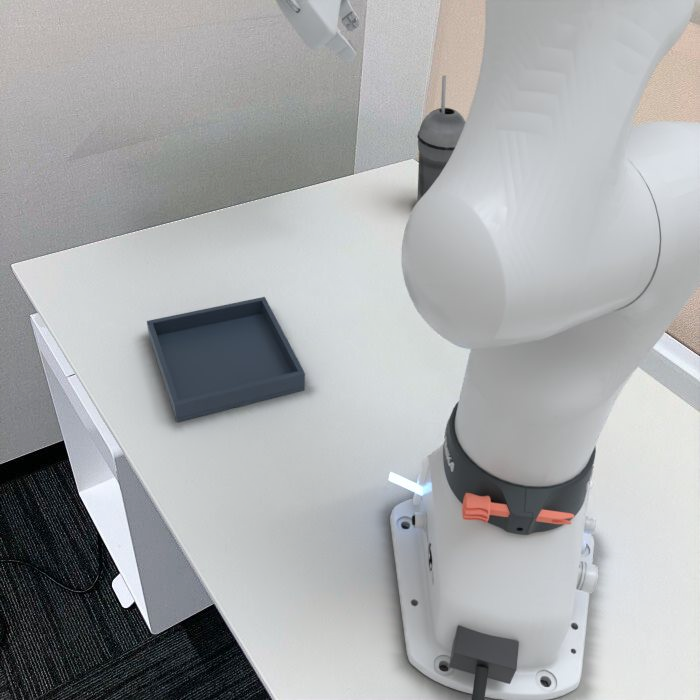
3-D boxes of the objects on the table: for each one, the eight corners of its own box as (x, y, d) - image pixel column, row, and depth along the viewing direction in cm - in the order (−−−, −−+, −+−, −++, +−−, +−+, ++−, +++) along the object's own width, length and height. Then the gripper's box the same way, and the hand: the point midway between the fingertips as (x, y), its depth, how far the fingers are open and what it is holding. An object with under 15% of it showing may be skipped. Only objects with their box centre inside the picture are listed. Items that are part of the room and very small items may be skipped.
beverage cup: (439, 227, 108) (461, 94, 95) (398, 209, 111) (414, 78, 98) (465, 207, 113) (489, 78, 99) (425, 191, 116) (443, 63, 102)
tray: (304, 390, 82) (305, 373, 80) (176, 422, 77) (174, 405, 75) (265, 313, 91) (264, 296, 89) (149, 337, 87) (146, 320, 85)
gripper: (293, -39, 78) (371, 63, 85) (309, -96, 92) (375, -4, 100) (249, -2, 81) (329, 94, 88) (272, -63, 95) (338, 24, 103)
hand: (353, 41), depth 94 cm, fingers open, 8 cm apart
